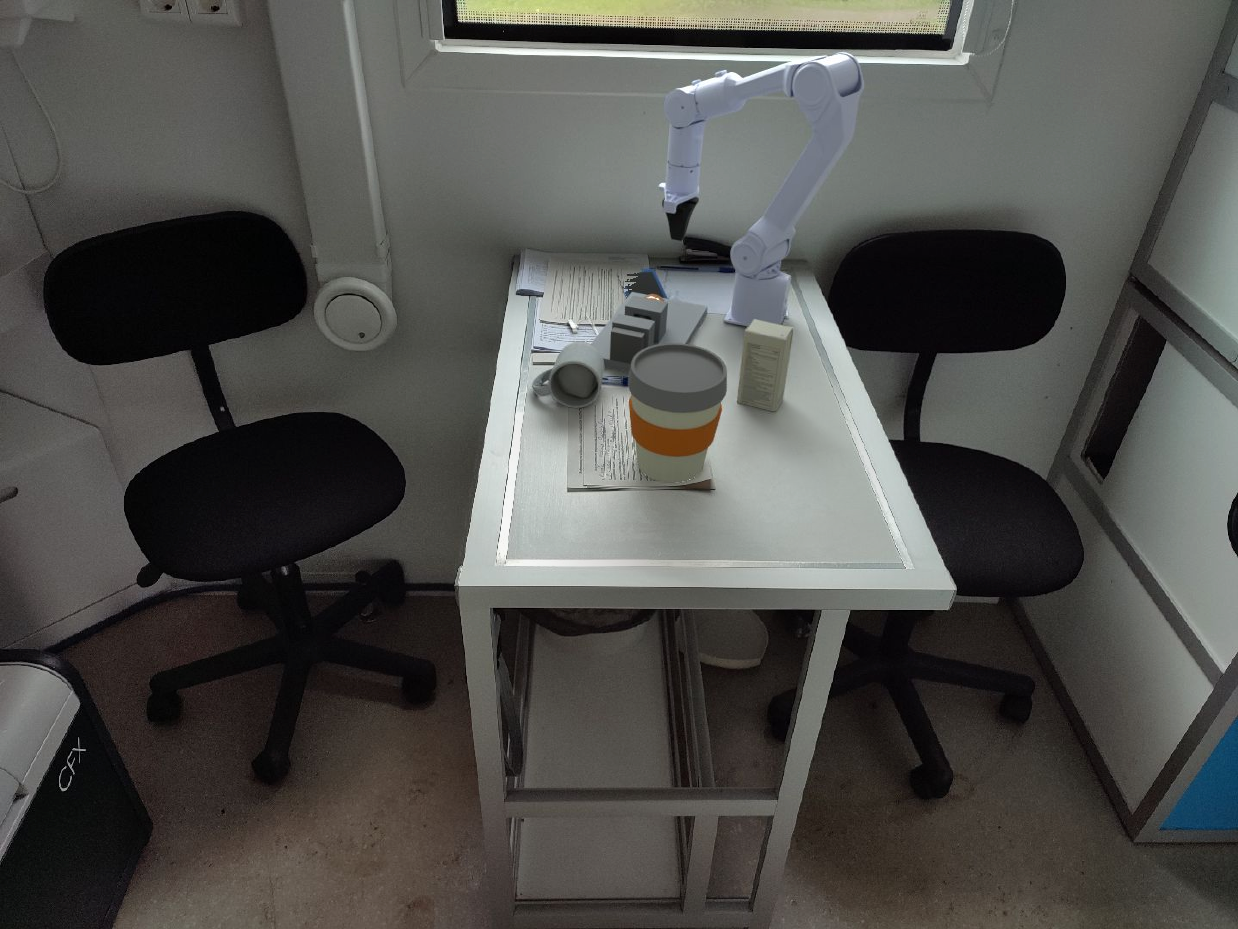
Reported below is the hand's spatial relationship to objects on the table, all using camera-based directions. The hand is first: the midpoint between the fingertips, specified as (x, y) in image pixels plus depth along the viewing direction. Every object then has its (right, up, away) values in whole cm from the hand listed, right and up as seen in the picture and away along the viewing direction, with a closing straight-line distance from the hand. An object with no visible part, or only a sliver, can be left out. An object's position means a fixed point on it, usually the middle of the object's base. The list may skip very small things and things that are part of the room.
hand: (677, 238), depth 153 cm
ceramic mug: (-18, -30, -25) cm, 43 cm away
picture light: (-17, -18, -7) cm, 25 cm away
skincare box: (+11, -31, -24) cm, 41 cm away
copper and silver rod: (-7, -19, -14) cm, 25 cm away
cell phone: (-6, -8, +6) cm, 12 cm away
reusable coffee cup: (-4, -40, -37) cm, 55 cm away
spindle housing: (-6, -19, -10) cm, 22 cm away
